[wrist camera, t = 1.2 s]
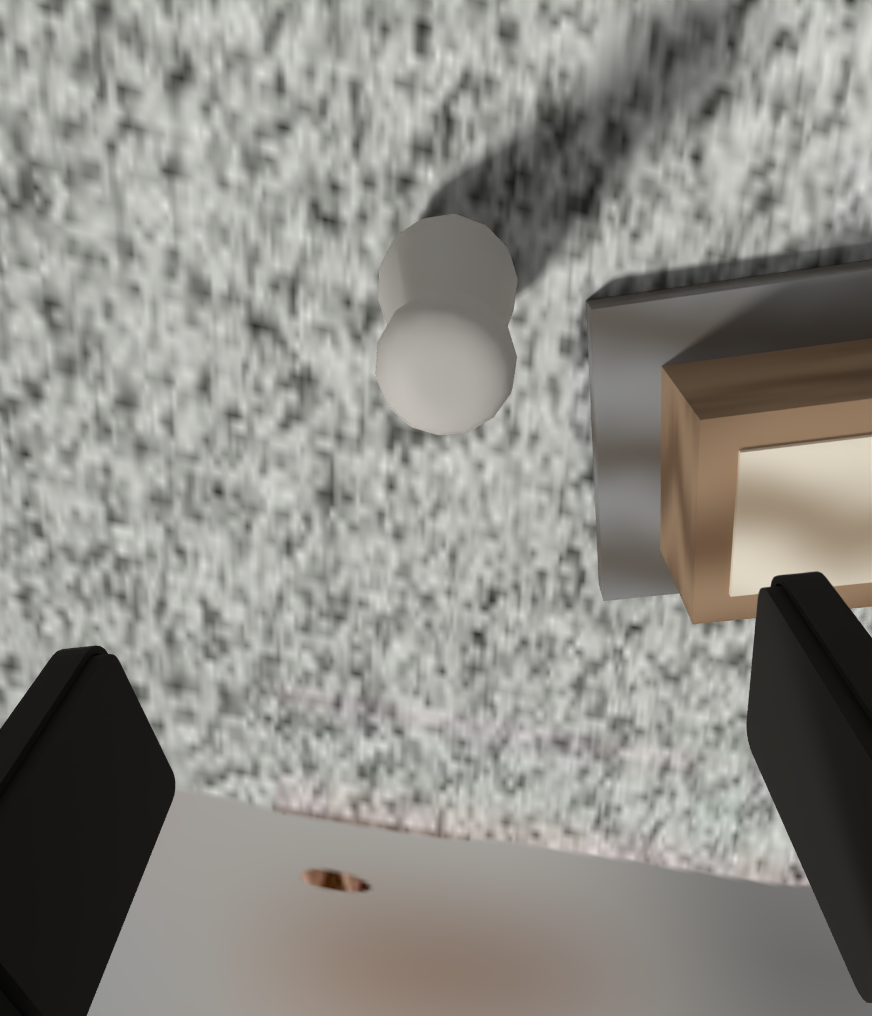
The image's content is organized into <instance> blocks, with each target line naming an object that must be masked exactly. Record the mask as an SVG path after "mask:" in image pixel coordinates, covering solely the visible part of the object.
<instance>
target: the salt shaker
mask: <svg viewBox="0 0 872 1016" xmlns="http://www.w3.org/2000/svg"><path fill="white" fill-rule="evenodd" d="M517 282H518V279H517V275H516V272H515V269H514V265H513V262H512V259H511V255H510V252H509V249H508V248H507V247H506V246H505V244H504V243H503V242H502V241H501V240H500V239H499V238H498V237H497V236H496V235H495V234H494V233H493V232H492V231H491V230H490V229H489V228H488V227H487V226H486V225H484V224H482V223H479V222H476V221H474V220H471V219H468V218H466V217H463V216H460V215H458V214H448V215H442V216H435V217H429V218H423V219H421V220H419V221H418V222H416V223H415V224H413V225H412V226H410V227H409V228H407V229H406V230H404V231H403V232H401V233H400V234H398V235H397V236H395V238H394V240H393V242H392V243H391V245H390V247H389V249H388V251H387V253H386V255H385V257H384V259H383V261H382V263H381V265H380V272H379V285H378V300H379V303H380V306H381V308H382V311H383V314H384V317H385V320H386V322H387V327H386V328H385V330H384V332H383V334H382V336H381V337H380V339H379V341H378V343H377V358H376V372H375V374H376V378H377V381H378V384H379V386H380V388H381V390H382V393H383V395H384V397H385V399H386V402H387V404H388V406H389V408H390V409H391V410H393V411H394V412H395V413H396V414H397V415H398V416H399V417H400V418H401V419H403V420H404V421H405V422H406V423H407V424H408V425H409V426H410V427H413V428H416V429H420V430H423V431H426V432H430V433H433V434H436V435H447V434H457V433H467V432H470V431H471V430H473V429H475V428H476V427H478V426H480V425H482V424H483V423H485V422H487V421H488V420H490V419H492V418H493V417H494V416H495V415H496V413H497V412H498V410H499V409H500V408H501V406H502V405H503V403H504V402H505V401H506V399H507V398H508V397H509V395H510V394H511V391H512V387H513V381H514V374H515V367H516V360H517V355H516V352H515V349H514V346H513V342H512V339H511V336H510V333H509V329H508V324H509V321H510V318H511V316H512V313H513V309H514V303H515V296H516V289H517Z"/></svg>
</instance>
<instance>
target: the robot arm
mask: <svg viewBox="0 0 872 1016" xmlns="http://www.w3.org/2000/svg"><path fill="white" fill-rule="evenodd" d="M747 737H748V742H749V745H750V749H751V751H752V754H753V756H754V758H755V761H756V763H757V765H758V767H759V770H760V772H761V774H762V776H763V779H764V781H765V783H766V785H767V788H768V790H769V792H770V795H771V797H772V799H773V801H774V804H775V806H776V808H777V810H778V813H779V815H780V817H781V819H782V822H783V824H784V826H785V828H786V831H787V833H788V835H789V837H790V840H791V842H792V844H793V847H794V849H795V851H796V853H797V856H798V858H799V860H800V862H801V865H802V867H803V869H804V871H805V874H806V876H807V878H808V880H809V883H810V885H811V887H812V889H813V892H814V894H815V896H816V898H817V901H818V903H819V905H820V908H821V910H822V912H823V914H824V916H825V919H826V921H827V923H828V926H829V928H830V930H831V932H832V935H833V937H834V939H835V941H836V944H837V946H838V948H839V951H840V953H841V955H842V957H843V960H844V961H845V964H846V966H847V969H848V971H849V973H850V975H851V978H852V979H853V982H854V984H855V986H856V988H857V990H858V992H859V994H860V995H861V997H862V998H863V999H864V1000H865V1001H866V1002H867V1003H872V638H871V636H870V635H869V634H868V632H867V631H866V630H865V628H864V627H863V626H862V624H861V623H860V622H859V620H858V619H857V618H856V616H855V615H854V614H853V612H852V611H851V610H850V608H849V607H848V606H847V604H846V603H845V602H844V600H843V599H842V598H841V596H840V595H839V594H838V592H837V591H836V590H835V588H834V587H833V586H832V584H831V583H830V582H829V580H828V579H827V578H826V577H825V576H824V575H823V574H822V573H821V572H818V571H815V572H806V573H796V574H786V575H777V576H775V577H774V578H773V579H772V581H771V586H770V587H764V588H761V589H760V590H759V593H758V601H757V612H756V623H755V635H754V646H753V657H752V668H751V679H750V691H749V702H748V713H747ZM174 793H175V777H174V774H173V771H172V769H171V767H170V765H169V763H168V761H167V759H166V757H165V755H164V752H163V750H162V748H161V746H160V744H159V742H158V740H157V738H156V736H155V734H154V732H153V730H152V728H151V726H150V724H149V722H148V719H147V717H146V715H145V713H144V711H143V709H142V707H141V705H140V703H139V701H138V699H137V697H136V695H135V693H134V691H133V688H132V686H131V684H130V682H129V680H128V678H127V676H126V674H125V672H124V670H123V668H122V666H121V664H120V662H119V660H118V658H117V657H116V656H115V655H113V654H108V653H107V651H106V650H105V649H104V648H102V647H101V646H88V647H79V648H69V649H62V650H59V651H57V652H56V653H55V654H54V655H53V656H52V657H51V659H50V660H49V661H48V663H47V664H46V666H45V667H44V668H43V670H42V671H41V673H40V674H39V676H38V677H37V678H36V680H35V681H34V683H33V684H32V685H31V687H30V688H29V690H28V691H27V692H26V694H25V695H24V697H23V698H22V699H21V701H20V702H19V704H18V705H17V706H16V708H15V709H14V711H13V712H12V713H11V715H10V716H9V718H8V719H7V720H6V722H5V723H4V725H3V726H2V728H1V729H0V1016H87V1013H88V1011H89V1008H90V1006H91V1003H92V1001H93V998H94V996H95V993H96V991H97V988H98V986H99V983H100V981H101V978H102V976H103V973H104V971H105V968H106V965H107V963H108V961H109V958H110V956H111V953H112V951H113V948H114V946H115V943H116V941H117V938H118V936H119V933H120V931H121V928H122V925H123V923H124V921H125V918H126V916H127V913H128V911H129V908H130V905H131V903H132V901H133V898H134V896H135V893H136V891H137V888H138V885H139V883H140V881H141V878H142V876H143V873H144V871H145V868H146V866H147V863H148V861H149V858H150V855H151V853H152V850H153V848H154V846H155V843H156V841H157V838H158V835H159V833H160V830H161V828H162V826H163V823H164V821H165V818H166V815H167V813H168V811H169V808H170V806H171V803H172V800H173V797H174Z"/></svg>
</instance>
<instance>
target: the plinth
mask: <svg viewBox="0 0 872 1016" xmlns="http://www.w3.org/2000/svg"><path fill="white" fill-rule="evenodd" d="M586 310H587V332H588V354H589V376H590V398H591V420H592V442H593V464H594V486H595V508H596V530H597V552H598V574H599V586H600V590H601V593H602V597H603V600H604V601H608V600H618V599H628V598H638V597H647V596H657V595H667V594H676V593H679V594H680V596H681V598H682V600H683V603H684V605H685V607H686V610H687V612H688V614H689V617H690V619H691V621H692V623H693V624H699V623H710V622H720V621H730V620H740V619H750V618H756V612H757V601H758V593H759V590H760V589H761V588H764V587H770V586H771V581H772V579H773V578H774V577H775V576H777V575H786V574H796V573H806V572H815V571H818V572H821V573H822V574H823V575H824V576H825V577H826V578H827V579H828V580H829V582H830V583H831V584H832V586H833V587H834V588H835V590H836V591H837V592H838V594H839V595H840V596H841V598H842V599H843V600H844V602H845V603H846V604H847V606H848V607H849V608H850V609H851V608H861V607H871V606H872V260H866V261H859V262H852V263H845V264H838V265H831V266H824V267H817V268H810V269H803V270H796V271H789V272H782V273H775V274H768V275H761V276H754V277H747V278H740V279H733V280H726V281H719V282H712V283H705V284H698V285H691V286H684V287H677V288H670V289H663V290H656V291H649V292H642V293H635V294H628V295H621V296H614V297H607V298H600V299H593V300H586Z"/></svg>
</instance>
